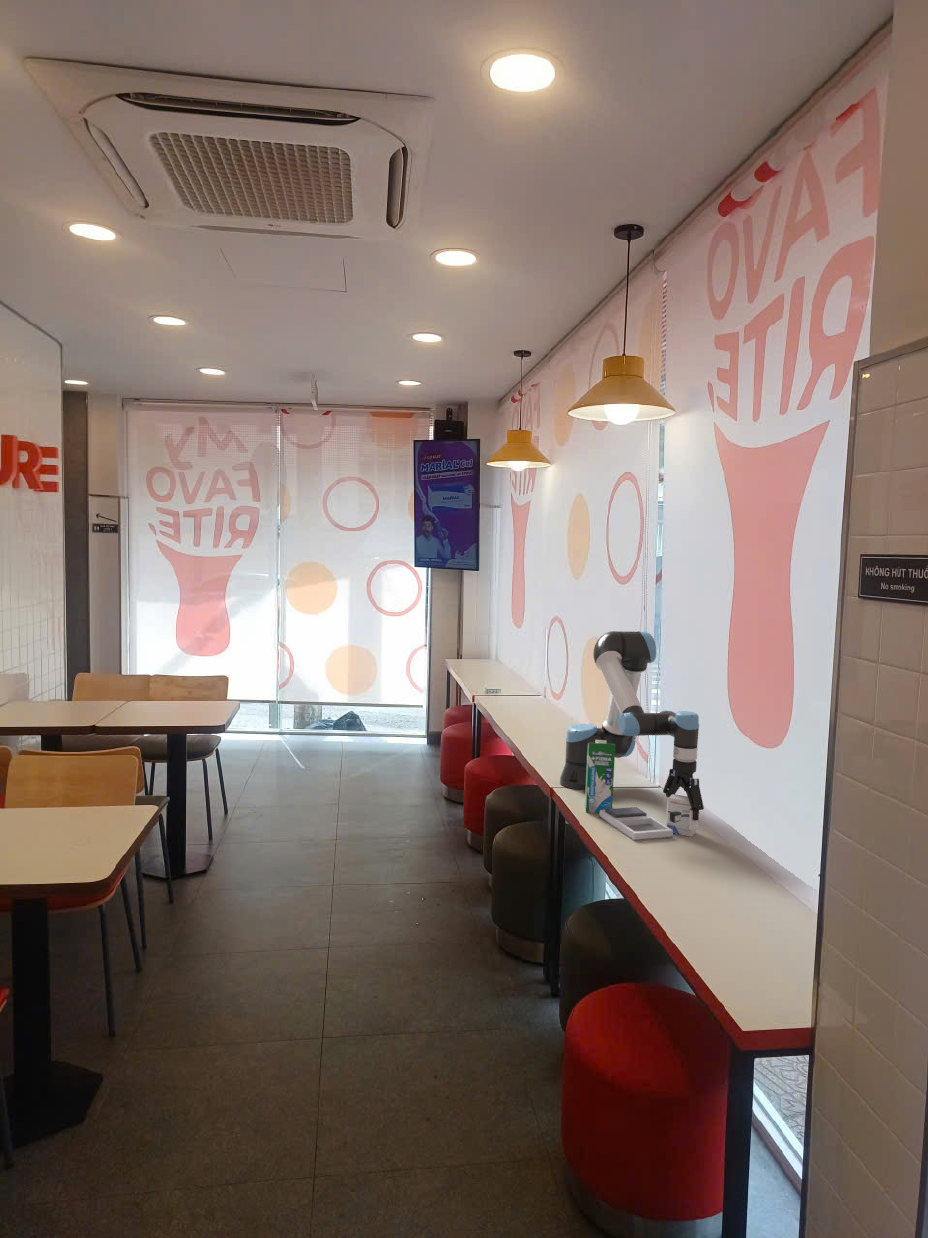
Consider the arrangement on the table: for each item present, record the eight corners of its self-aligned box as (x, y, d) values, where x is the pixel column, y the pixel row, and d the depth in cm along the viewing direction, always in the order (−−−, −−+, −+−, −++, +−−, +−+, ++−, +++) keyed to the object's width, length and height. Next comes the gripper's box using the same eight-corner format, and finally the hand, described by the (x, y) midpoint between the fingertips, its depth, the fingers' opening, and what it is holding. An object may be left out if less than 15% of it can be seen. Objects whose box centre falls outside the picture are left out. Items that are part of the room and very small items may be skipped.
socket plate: (599, 817, 286) (599, 810, 286) (635, 814, 290) (635, 807, 290) (634, 841, 263) (634, 833, 263) (672, 837, 267) (673, 830, 267)
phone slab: (605, 811, 284) (605, 809, 284) (636, 809, 288) (636, 806, 288) (614, 818, 277) (614, 815, 277) (646, 815, 281) (646, 813, 281)
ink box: (665, 832, 273) (667, 797, 272) (669, 828, 277) (671, 793, 276) (692, 837, 269) (694, 801, 268) (695, 832, 273) (697, 798, 272)
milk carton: (609, 806, 298) (613, 738, 296) (611, 814, 290) (615, 743, 287) (584, 804, 299) (587, 736, 297) (585, 812, 290) (589, 742, 288)
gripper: (654, 750, 281) (651, 812, 283) (696, 769, 258) (693, 836, 259) (674, 750, 284) (670, 810, 285) (717, 768, 260) (713, 834, 262)
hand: (681, 822), depth 272 cm, fingers open, 13 cm apart
